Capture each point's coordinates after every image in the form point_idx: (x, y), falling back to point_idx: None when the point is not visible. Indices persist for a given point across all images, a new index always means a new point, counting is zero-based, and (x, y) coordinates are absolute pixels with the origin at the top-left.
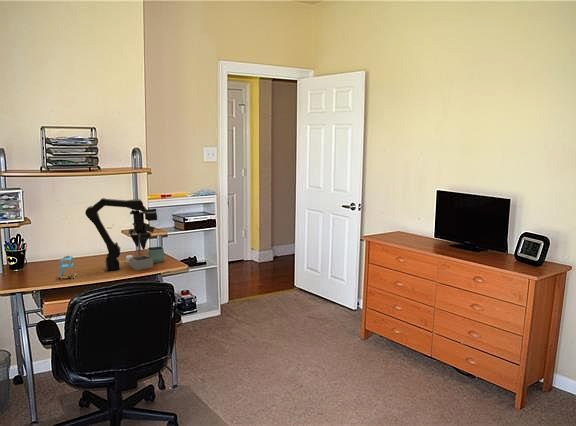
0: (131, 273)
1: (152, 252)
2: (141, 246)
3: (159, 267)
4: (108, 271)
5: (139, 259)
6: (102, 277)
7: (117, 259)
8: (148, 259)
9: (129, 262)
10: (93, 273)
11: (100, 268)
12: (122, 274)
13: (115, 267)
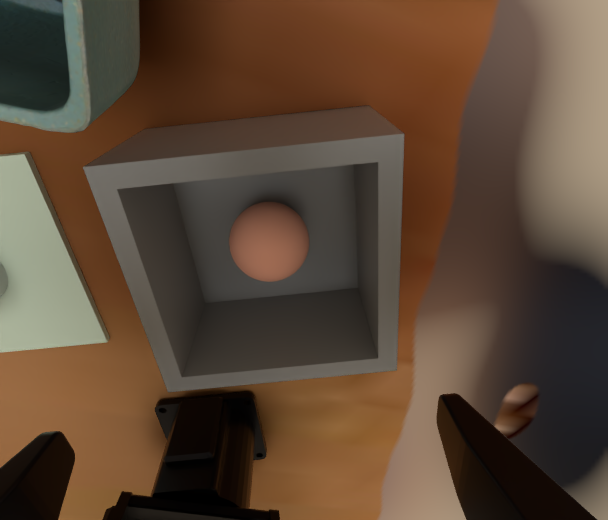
0: (401, 340)
1: (104, 44)
2: (474, 517)
3: (375, 8)
4: (257, 458)
5: (163, 259)
6: (361, 487)
7: (201, 490)
8: (398, 211)
9: (1, 286)
10: None
11: (100, 470)
12: (379, 394)
13: (249, 443)
